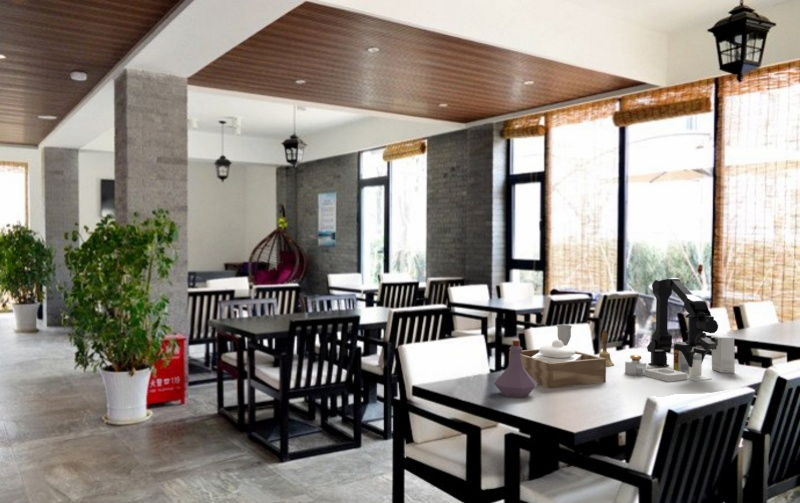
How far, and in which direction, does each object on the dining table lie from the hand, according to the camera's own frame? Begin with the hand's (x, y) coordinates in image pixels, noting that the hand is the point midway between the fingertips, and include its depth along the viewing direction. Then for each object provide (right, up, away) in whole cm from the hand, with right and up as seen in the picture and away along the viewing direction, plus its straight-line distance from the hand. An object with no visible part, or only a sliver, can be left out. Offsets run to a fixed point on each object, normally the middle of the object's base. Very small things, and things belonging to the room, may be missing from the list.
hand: (695, 366), depth 258 cm
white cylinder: (0, -4, 0) cm, 4 cm away
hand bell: (-29, -4, +27) cm, 40 cm away
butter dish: (-59, -4, -1) cm, 59 cm away
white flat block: (-12, -5, +1) cm, 13 cm away
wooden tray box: (-59, -4, -1) cm, 59 cm away
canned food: (+2, -5, +16) cm, 17 cm away
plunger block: (-22, -5, +7) cm, 24 cm away
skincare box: (+19, -5, +15) cm, 25 cm away
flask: (-81, -5, -30) cm, 87 cm away
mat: (0, -5, 0) cm, 5 cm away
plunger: (-22, -4, +7) cm, 24 cm away
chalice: (-48, -4, +26) cm, 55 cm away
